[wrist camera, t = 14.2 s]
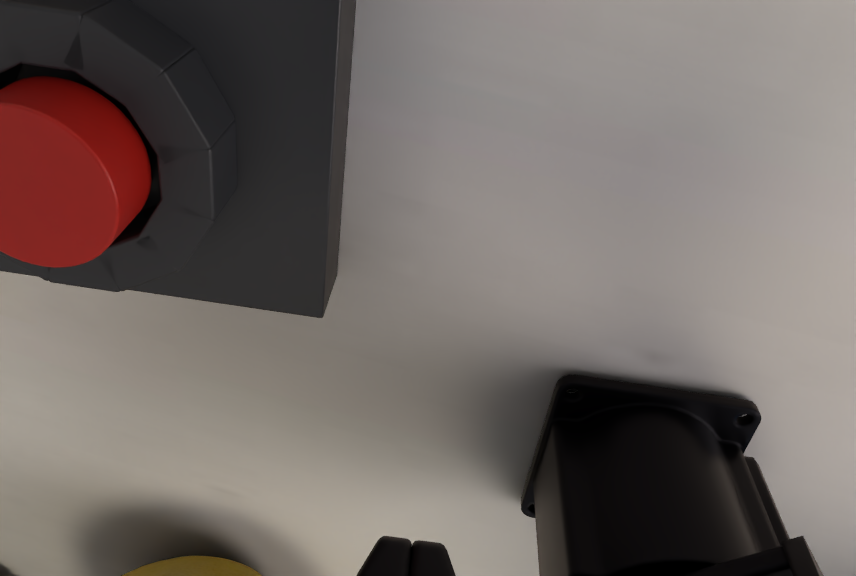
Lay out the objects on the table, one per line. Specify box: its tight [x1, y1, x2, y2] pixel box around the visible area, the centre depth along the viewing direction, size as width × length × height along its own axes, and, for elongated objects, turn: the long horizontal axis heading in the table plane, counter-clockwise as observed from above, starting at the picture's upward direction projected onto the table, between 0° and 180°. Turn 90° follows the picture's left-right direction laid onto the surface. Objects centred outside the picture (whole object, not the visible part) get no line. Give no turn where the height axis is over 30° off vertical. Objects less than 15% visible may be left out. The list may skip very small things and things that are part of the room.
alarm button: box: [0, 76, 152, 268], centre depth 15 cm, size 4×4×2 cm
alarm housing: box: [0, 0, 356, 318], centre depth 17 cm, size 11×9×4 cm
